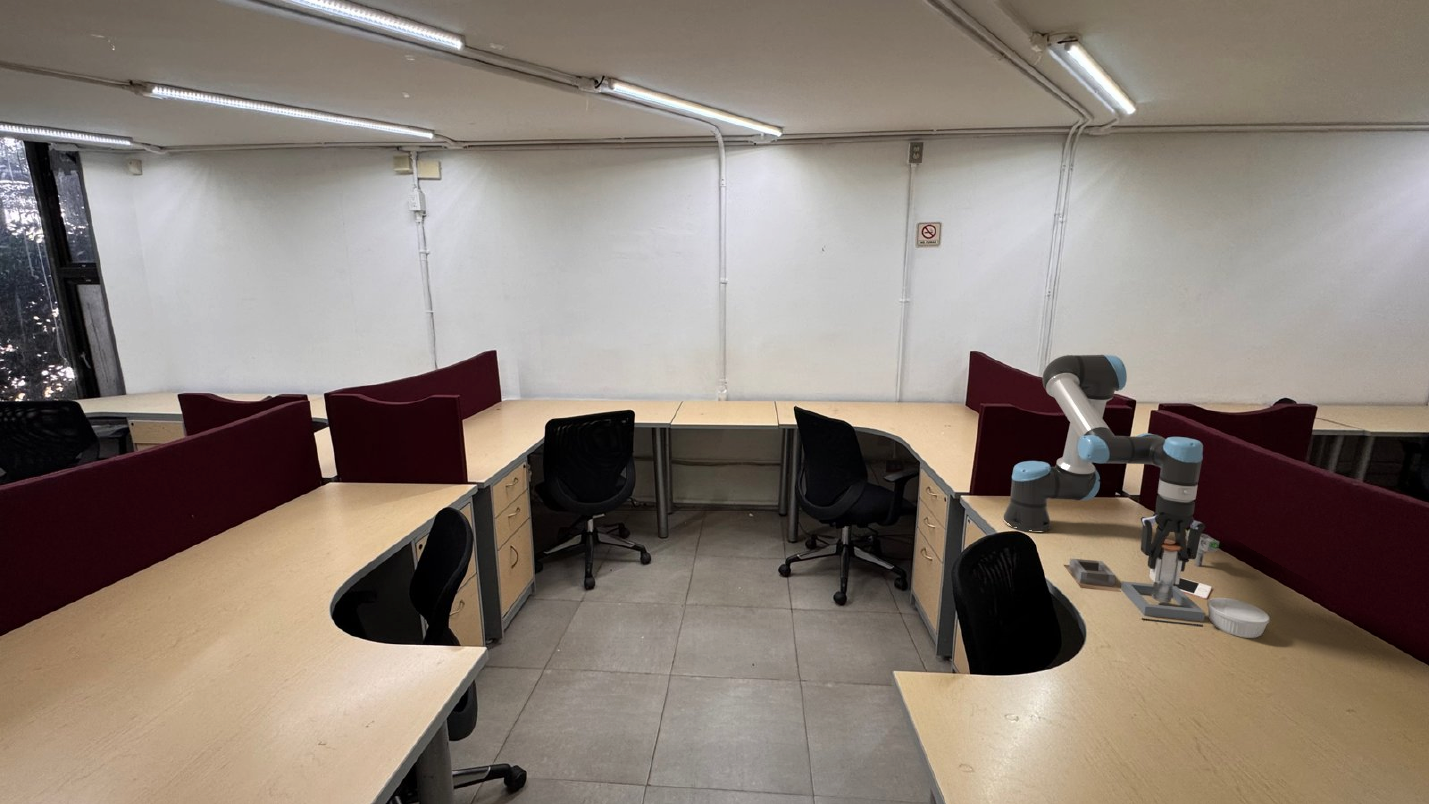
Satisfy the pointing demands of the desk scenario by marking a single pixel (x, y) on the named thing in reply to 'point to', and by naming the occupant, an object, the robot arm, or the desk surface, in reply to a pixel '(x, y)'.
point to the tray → (1185, 612)
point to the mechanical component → (1204, 547)
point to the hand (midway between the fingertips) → (1163, 580)
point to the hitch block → (1092, 574)
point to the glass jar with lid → (1166, 571)
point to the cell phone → (1193, 588)
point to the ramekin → (1237, 617)
